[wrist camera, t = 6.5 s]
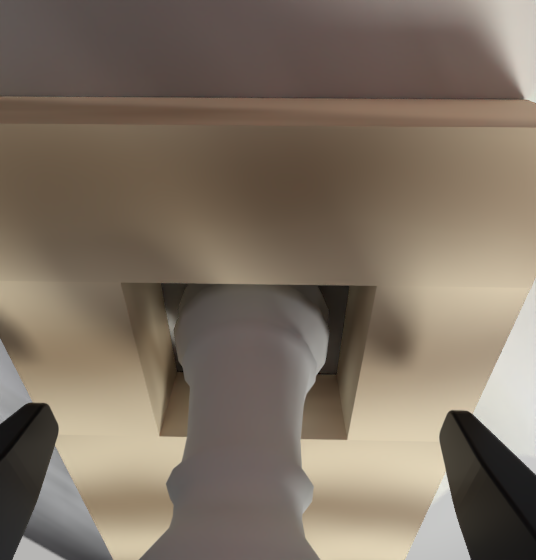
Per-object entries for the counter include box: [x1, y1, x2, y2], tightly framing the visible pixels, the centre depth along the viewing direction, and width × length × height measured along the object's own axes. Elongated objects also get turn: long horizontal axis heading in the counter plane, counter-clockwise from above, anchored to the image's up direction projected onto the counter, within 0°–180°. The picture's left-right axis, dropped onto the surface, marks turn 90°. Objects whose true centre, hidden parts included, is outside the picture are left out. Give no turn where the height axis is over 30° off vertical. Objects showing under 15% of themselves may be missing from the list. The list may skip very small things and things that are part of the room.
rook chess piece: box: [139, 283, 330, 560], centre depth 9 cm, size 4×4×8 cm
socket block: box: [0, 96, 536, 560], centre depth 13 cm, size 18×12×2 cm, turn 0°
